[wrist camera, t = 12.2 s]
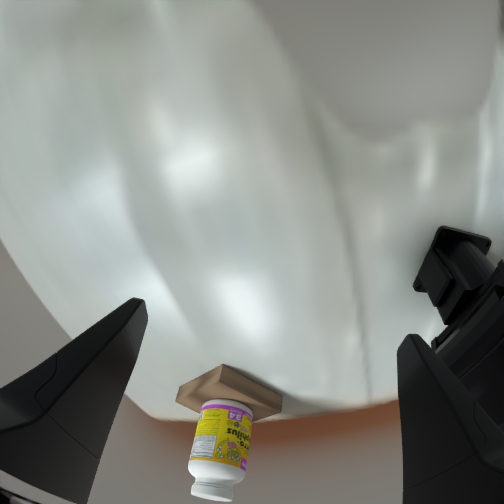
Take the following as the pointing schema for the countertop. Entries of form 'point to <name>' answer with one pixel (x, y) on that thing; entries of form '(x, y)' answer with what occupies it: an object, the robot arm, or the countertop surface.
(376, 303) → the countertop surface
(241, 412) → the supplement bottle
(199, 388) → the walnut pedestal
